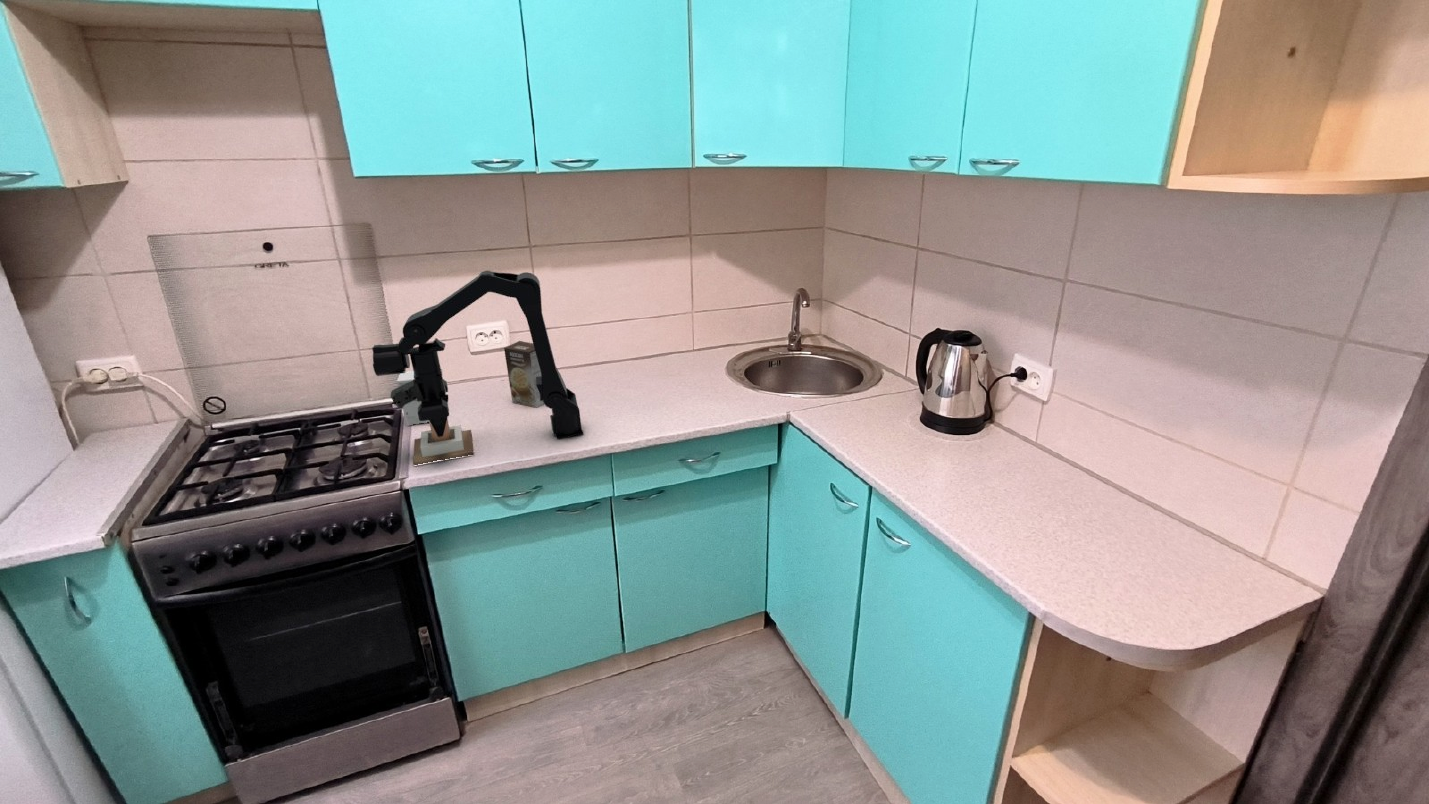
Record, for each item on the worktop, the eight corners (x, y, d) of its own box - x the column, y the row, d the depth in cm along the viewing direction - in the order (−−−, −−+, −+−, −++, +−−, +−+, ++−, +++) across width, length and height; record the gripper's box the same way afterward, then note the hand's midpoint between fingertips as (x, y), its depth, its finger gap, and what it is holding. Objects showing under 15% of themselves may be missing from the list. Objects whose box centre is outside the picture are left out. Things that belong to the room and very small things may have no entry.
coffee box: (511, 402, 185) (502, 347, 178) (527, 394, 190) (518, 340, 183) (536, 408, 181) (528, 351, 174) (552, 399, 186) (544, 344, 179)
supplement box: (406, 426, 172) (395, 381, 167) (409, 415, 179) (399, 371, 174) (436, 422, 174) (426, 377, 169) (439, 411, 180) (430, 367, 175)
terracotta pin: (452, 440, 162) (446, 409, 159) (452, 447, 158) (446, 416, 155) (434, 443, 160) (428, 412, 157) (434, 450, 157) (428, 418, 154)
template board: (471, 433, 167) (469, 420, 166) (473, 455, 156) (471, 442, 155) (415, 442, 163) (412, 429, 162) (413, 466, 152) (410, 453, 151)
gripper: (390, 362, 157) (405, 422, 163) (385, 390, 141) (401, 455, 147) (441, 355, 161) (453, 414, 167) (442, 381, 145) (455, 446, 151)
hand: (440, 432), depth 158 cm, fingers open, 5 cm apart
